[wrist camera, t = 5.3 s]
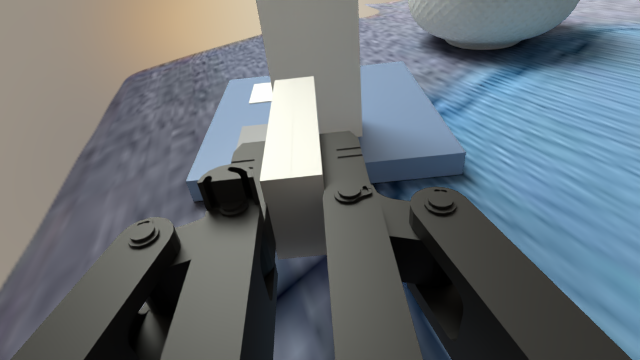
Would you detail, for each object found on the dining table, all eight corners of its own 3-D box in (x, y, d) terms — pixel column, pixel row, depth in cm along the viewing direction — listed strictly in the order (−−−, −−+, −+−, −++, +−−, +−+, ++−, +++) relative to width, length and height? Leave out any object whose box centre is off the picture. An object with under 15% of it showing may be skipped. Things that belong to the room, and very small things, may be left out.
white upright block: (362, 136, 23) (352, -174, 15) (282, 144, 23) (227, -159, 15) (356, 114, 25) (344, -161, 17) (284, 122, 25) (237, -148, 17)
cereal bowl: (375, 49, 42) (374, -20, 38) (451, 15, 51) (457, -44, 47) (529, 77, 32) (551, -13, 28) (592, 30, 41) (616, -45, 36)
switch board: (462, 174, 22) (466, 150, 21) (193, 201, 22) (185, 179, 21) (401, 77, 35) (402, 60, 34) (233, 95, 35) (229, 79, 34)
